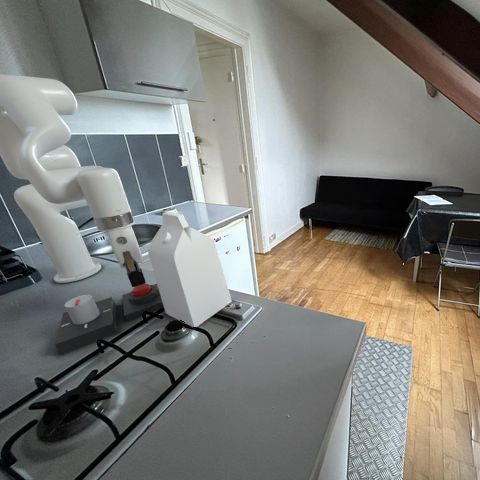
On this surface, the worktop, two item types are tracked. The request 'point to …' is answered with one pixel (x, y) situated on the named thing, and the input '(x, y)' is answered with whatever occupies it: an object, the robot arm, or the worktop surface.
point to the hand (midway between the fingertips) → (139, 284)
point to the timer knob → (82, 309)
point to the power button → (141, 290)
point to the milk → (187, 271)
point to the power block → (141, 303)
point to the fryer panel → (87, 328)
